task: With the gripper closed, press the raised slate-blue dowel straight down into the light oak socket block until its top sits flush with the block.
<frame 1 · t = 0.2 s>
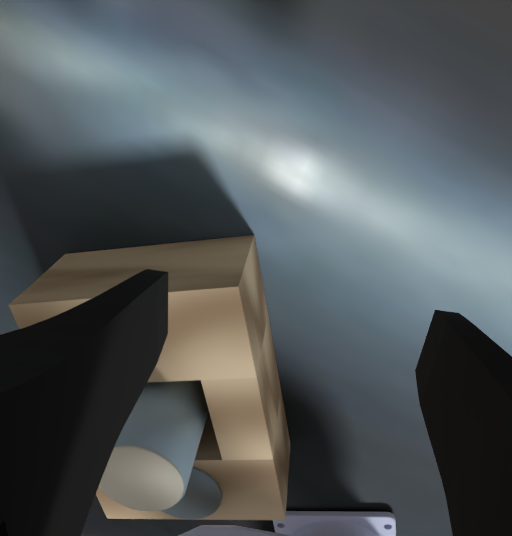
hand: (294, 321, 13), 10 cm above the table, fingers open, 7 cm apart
socket block: (187, 356, 26), on the table
peg: (157, 433, 21), point 6 cm above the table, slide at 3.0 cm
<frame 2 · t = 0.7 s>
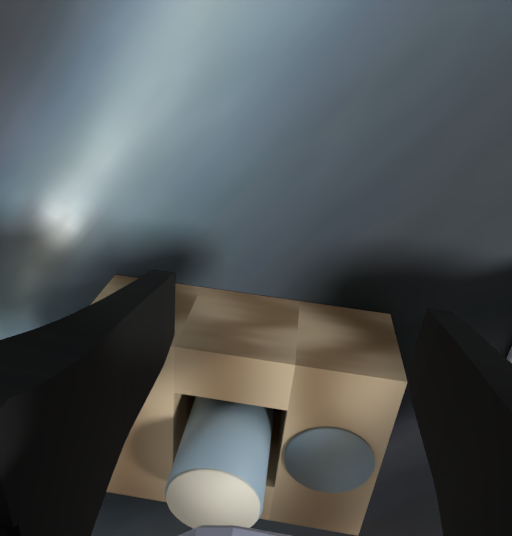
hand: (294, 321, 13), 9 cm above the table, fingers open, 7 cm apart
socket block: (242, 371, 26), on the table
peg: (224, 452, 21), point 6 cm above the table, slide at 3.0 cm
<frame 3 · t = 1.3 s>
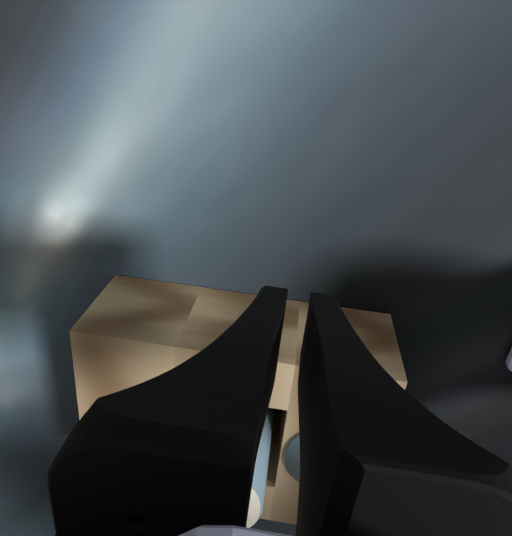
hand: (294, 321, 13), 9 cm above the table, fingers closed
socket block: (242, 371, 26), on the table
peg: (224, 452, 21), point 6 cm above the table, slide at 3.0 cm
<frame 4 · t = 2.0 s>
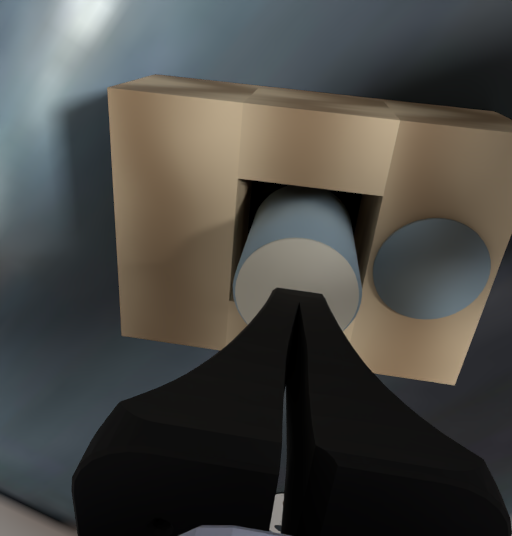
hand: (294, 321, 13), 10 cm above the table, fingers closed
socket block: (304, 206, 21), on the table
wineglass: (289, 511, 32), on the table
peg: (299, 259, 17), point 6 cm above the table, slide at 3.0 cm
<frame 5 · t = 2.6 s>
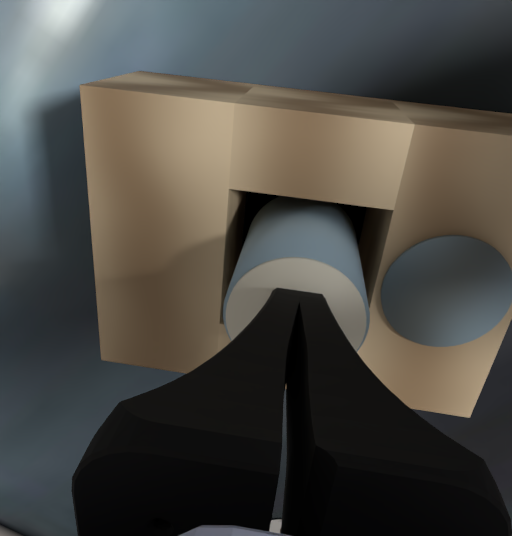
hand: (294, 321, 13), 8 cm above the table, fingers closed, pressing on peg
socket block: (303, 217, 20), on the table
peg: (298, 277, 15), point 5 cm above the table, slide at 2.8 cm, touching gripper
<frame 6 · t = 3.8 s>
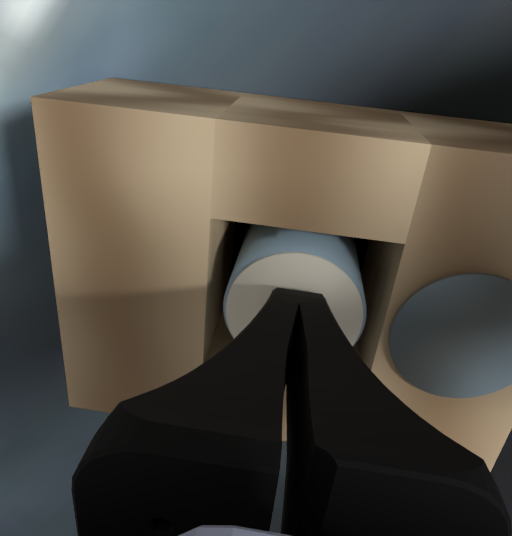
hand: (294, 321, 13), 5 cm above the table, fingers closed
socket block: (299, 241, 17), on the table
peg: (296, 273, 15), point 3 cm above the table, slide at 0.0 cm
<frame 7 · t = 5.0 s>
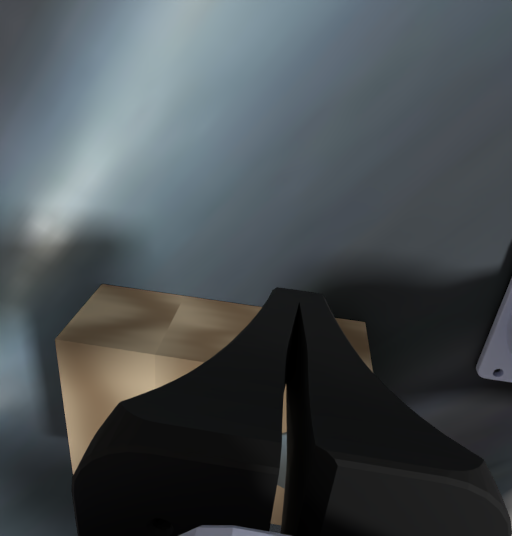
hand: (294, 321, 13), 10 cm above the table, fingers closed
socket block: (225, 376, 27), on the table
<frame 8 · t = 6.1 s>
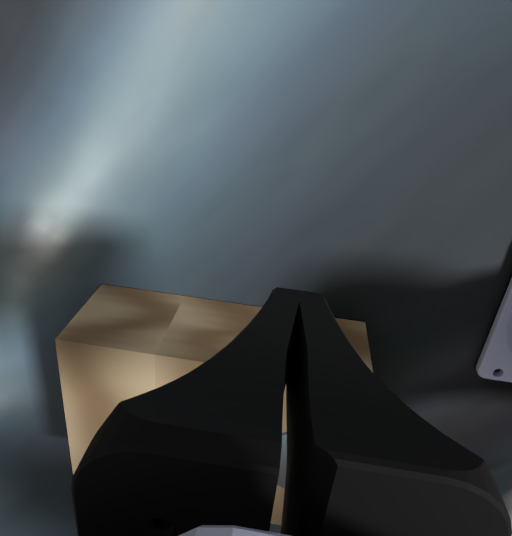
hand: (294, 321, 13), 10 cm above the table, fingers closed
socket block: (225, 376, 27), on the table
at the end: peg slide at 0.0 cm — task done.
